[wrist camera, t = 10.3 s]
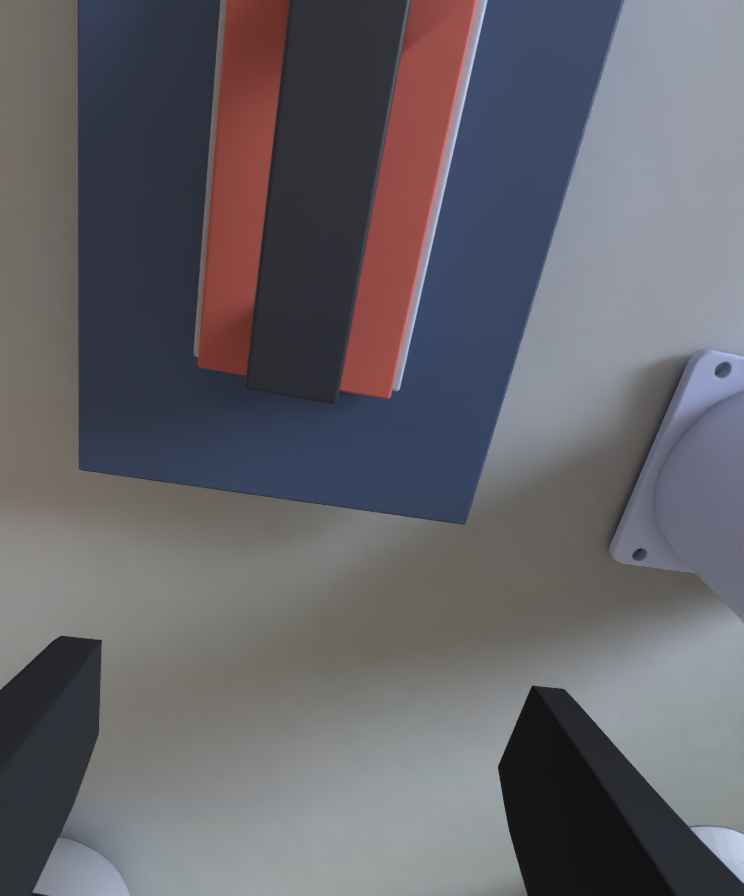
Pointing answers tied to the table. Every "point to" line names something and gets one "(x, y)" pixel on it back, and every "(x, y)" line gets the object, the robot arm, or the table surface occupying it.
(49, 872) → the black egg-shaped figure
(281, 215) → the iron
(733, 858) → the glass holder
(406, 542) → the table surface
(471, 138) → the ironing board
